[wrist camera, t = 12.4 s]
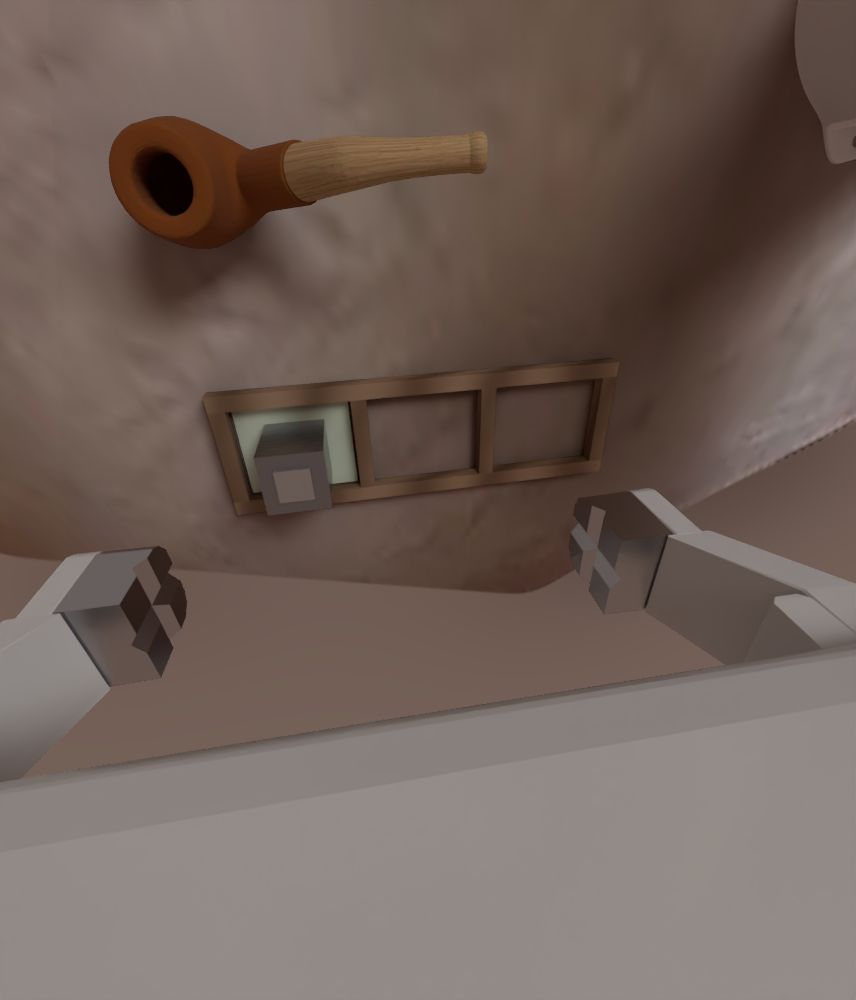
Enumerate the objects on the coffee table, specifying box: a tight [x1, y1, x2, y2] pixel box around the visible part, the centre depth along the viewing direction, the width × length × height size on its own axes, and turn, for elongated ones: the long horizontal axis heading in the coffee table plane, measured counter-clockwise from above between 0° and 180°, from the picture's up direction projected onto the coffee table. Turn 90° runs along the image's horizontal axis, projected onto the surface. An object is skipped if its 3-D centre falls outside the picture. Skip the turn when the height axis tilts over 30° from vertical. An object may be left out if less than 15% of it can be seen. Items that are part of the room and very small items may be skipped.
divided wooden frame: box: [202, 358, 620, 515], centre depth 37 cm, size 32×10×1 cm, turn 92°
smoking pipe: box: [109, 116, 488, 249], centre depth 23 cm, size 7×18×6 cm
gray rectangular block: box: [253, 419, 333, 516], centre depth 34 cm, size 4×4×6 cm
